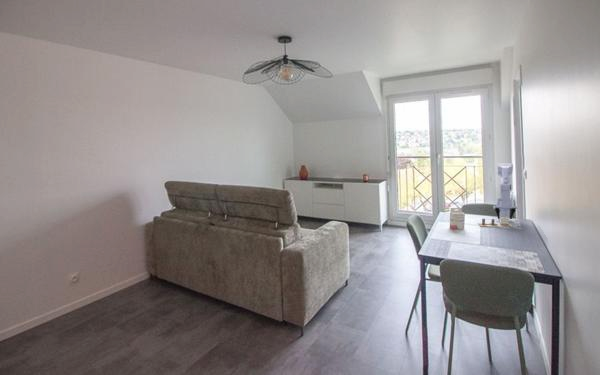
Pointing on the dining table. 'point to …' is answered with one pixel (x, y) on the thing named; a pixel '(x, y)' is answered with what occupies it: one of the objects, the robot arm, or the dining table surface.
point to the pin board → (487, 224)
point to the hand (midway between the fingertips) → (504, 218)
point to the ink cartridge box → (457, 218)
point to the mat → (503, 225)
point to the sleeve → (504, 221)
